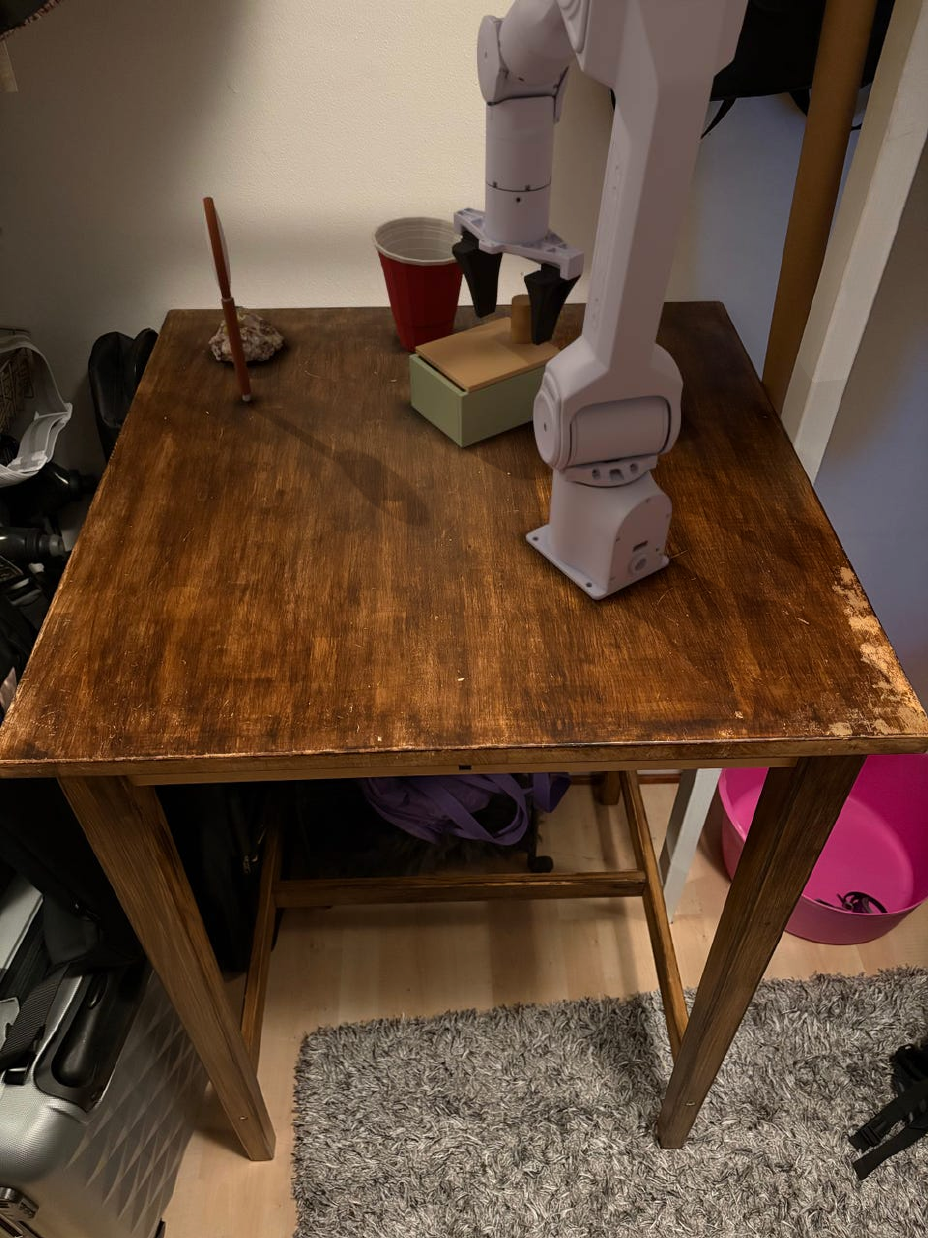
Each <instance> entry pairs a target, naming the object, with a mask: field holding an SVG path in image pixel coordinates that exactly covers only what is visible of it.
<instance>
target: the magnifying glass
mask: <svg viewBox="0 0 928 1238" xmlns="http://www.w3.org/2000/svg"><path fill="white" fill-rule="evenodd" d="M202 203H203V225H204V234H205V235H204V236H205V241H206V247H207V251H208V252H207V253H208V257H209V261H210V266H211V269H212V272H213V276H214V278H215V281H216V284H217V286H218V288H219V291H220V295H221V299H220V302H221V309H222V313H223V318H225V322H226V327H227V332H228V337H229V342H230V347H231V352H232V357H233V362H232V363H233V367H234V371H235V372H234V373H235V376H236V382H237V386H238V391H239V395H241V396H242V400H243V401H245V402H249V401H250V400H251V394H252V387H251V382H250V376H249V371H248V366H247V362H246V360H245V355H244V350H243V344H242V339H241V334H240V329H239V323H238V318H237V313H236V308H235V306H236V303H235V298H234V297H233V296H232V292H231V287H232V275H231V265H230V256H229V251H228V246H227V240H226V235H225V233H224V228H223V226H222V222H221V219H220V216H219V213H218V210H217V208H216V207H215V203H214V198H213V197H212V196H205V197H204V198H202Z"/></svg>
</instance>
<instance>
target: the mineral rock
mask: <svg viewBox="0 0 928 1238" xmlns="http://www.w3.org/2000/svg"><path fill="white" fill-rule="evenodd" d="M235 308H236V313H237V318H238V323H239V329H240V334H241V339H242V344H243V350H244V355H245V360H246V363H247V362H252V361H259V362H264V361H267V360H269V359H270V357H272V356H273V355H274V354H275V353H276V351H279V350H280V349H282V346H283V343H282V342H283V341H284V340H285V337H284V336H283V335H281V334H280V332H278V329H277V328H275V326H273V325H272V324H271V323H270V322H268V321H266V320H265V319H264V318H262V317H260V316H259V315H257V314H255V313H254V312H253V311H252V310H251V309H250V308H249V307H243V306H242V305H235ZM207 344H209V347H210V348H211V352H213V356H215V359H216V360H217V361H219V362H221V361H224V362H227V361H229V362H231V363H234V362H233V357H232V352H231V347H230V342H229V337H228V332H227V327H226V322H225V317H223V319H222V320H221V323H220V326H219V329H218V330H217V333H216V334H215V335H213V336H212V337H211V338H210V339H209V340H208V342H207Z"/></svg>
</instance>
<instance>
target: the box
mask: <svg viewBox="0 0 928 1238" xmlns="http://www.w3.org/2000/svg"><path fill="white" fill-rule="evenodd" d="M408 364H409V384H410V385H409V386H410V403H411V404H410V405H411V407H412V408H413V409H415V410H416V411H417V412H418V413H419V414H421V415H422V416H423V417H424V418H425V419H426V420H428V421H429V422H430V423H432V424H433V425H434V426H435V427H436V428H437V429H439V430H440V431H441V432H442V433H443V434H445V435H446V436H447V437H448V438H450V439H451V440H452V441H453V442H454V443H456V444H457V445H458V446H459V447H460V448H462V449H463V448H465V447H468V446H471V445H473V444H475V443H478V442H480V441H483V440H485V439H488V438H491V437H494V436H496V435H498V434H501V433H503V432H506V431H508V430H509V431H510V430H511V429H514V428H517V427H518V426H522V425H524V424H526V423H529V422H531V421H532V422H533V410H534V402H535V398H536V396H537V394H538V393H539V391H540V388H541V385H542V381H543V375H544V373H545V370H546V365H543V366H540V367H538V368H535V369H532V370H529V371H527V372H524V373H521V374H518V375H516V376H513V377H510V378H507V379H505V380H502V381H499V382H496V383H494V384H491V385H488V386H485V387H483V388H480V389H477V390H474V391H472V392H467V391H465V392H462V391H461V390H460V389H458V388H457V387H456V386H454V385H453V384H452V383H451V382H449V381H448V380H447V379H445V378H444V377H443V376H441V375H440V374H439V373H438V372H437V371H440V370H438V369H437V368H436V367H434V366H433V365H432V364H431V363H429V362H428V361H427V360H425V359H424V358H423V357H421V356H420V355H419V354H417V353H414V354H411V355H409V356H408Z"/></svg>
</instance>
